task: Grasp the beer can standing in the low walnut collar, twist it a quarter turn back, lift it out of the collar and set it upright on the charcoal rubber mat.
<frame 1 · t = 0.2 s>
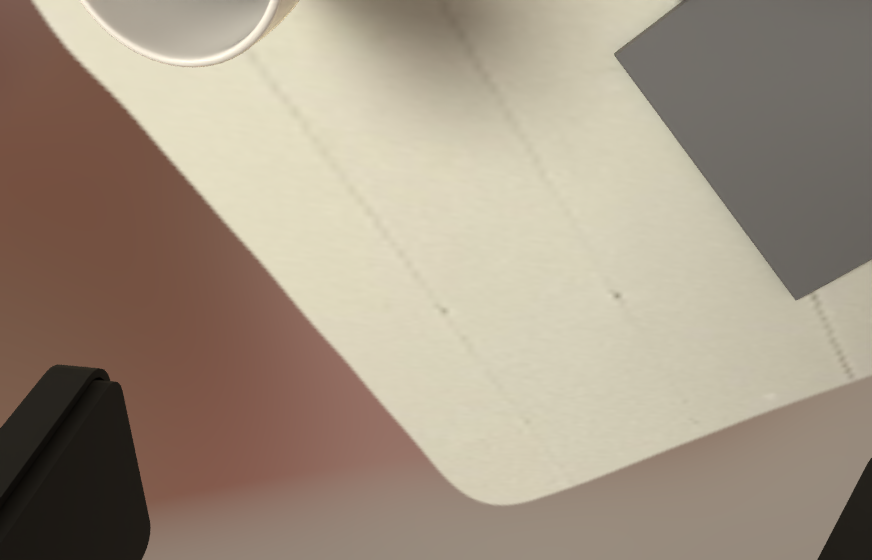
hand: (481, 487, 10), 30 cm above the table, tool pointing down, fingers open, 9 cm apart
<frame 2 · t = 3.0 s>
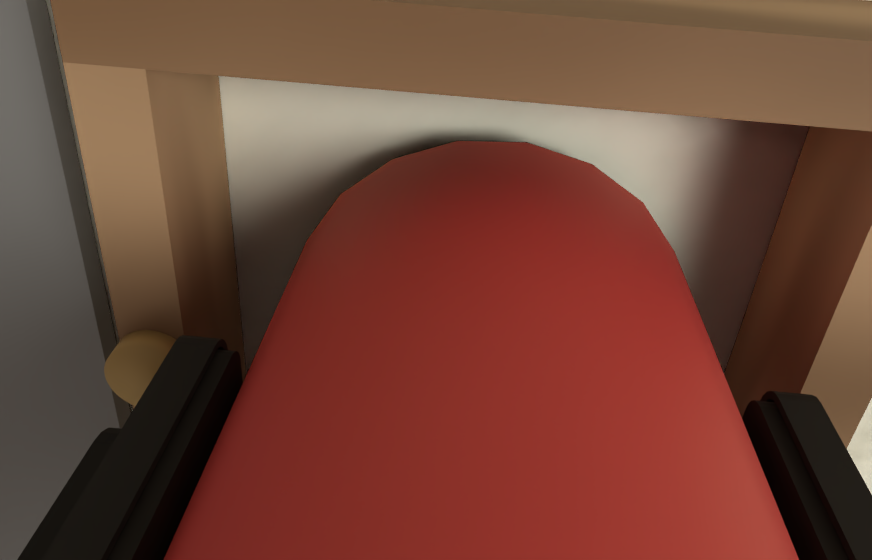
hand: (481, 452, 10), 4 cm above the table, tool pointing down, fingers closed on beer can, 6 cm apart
beer can: (485, 294, 13), resting in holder, touching gripper
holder: (486, 301, 13), on the table
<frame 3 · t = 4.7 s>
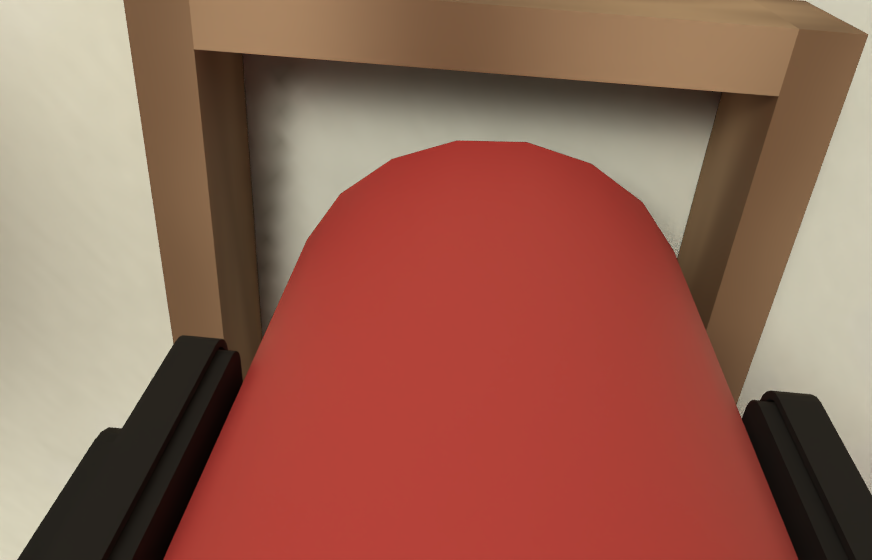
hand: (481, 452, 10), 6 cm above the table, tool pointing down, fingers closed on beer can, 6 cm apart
beer can: (485, 294, 13), point 3 cm above the table, touching gripper
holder: (463, 250, 16), on the table
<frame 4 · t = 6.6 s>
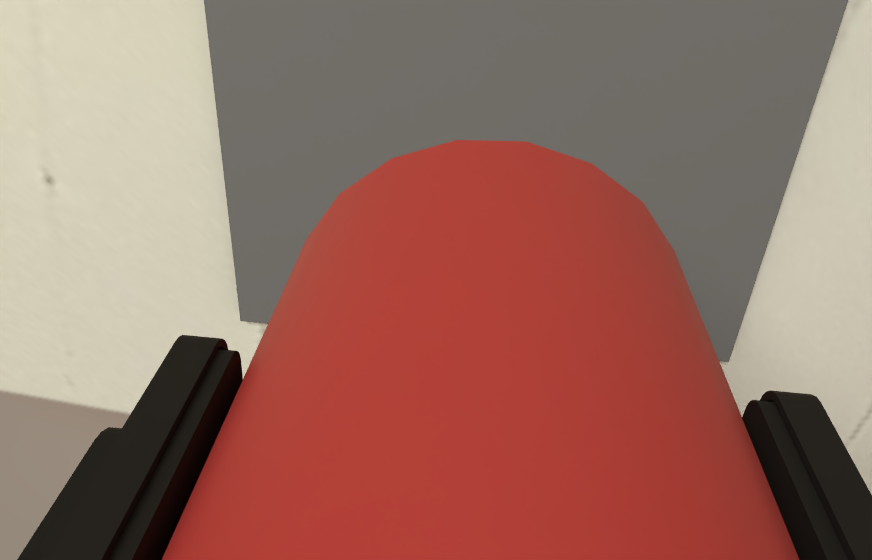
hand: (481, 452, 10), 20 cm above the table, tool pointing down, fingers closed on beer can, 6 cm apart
mat: (500, 149, 29), on the table
beer can: (485, 294, 13), point 16 cm above the table, touching gripper
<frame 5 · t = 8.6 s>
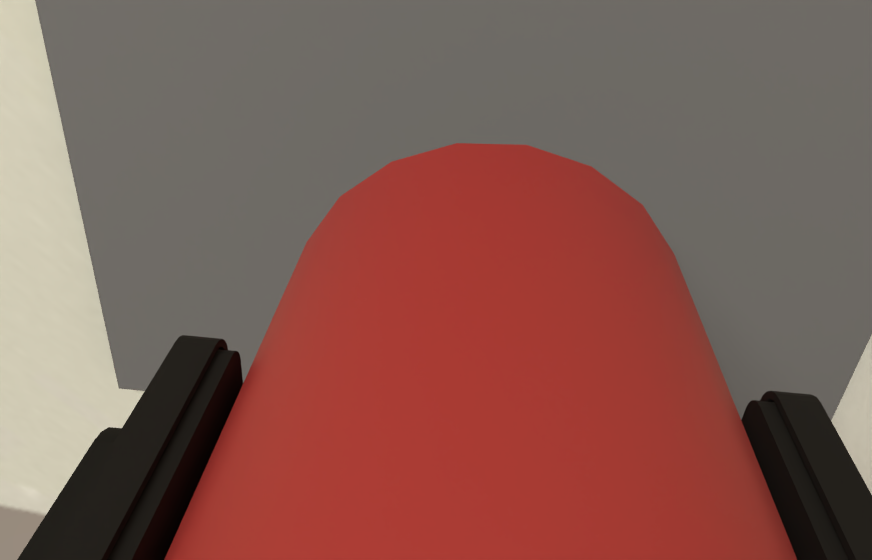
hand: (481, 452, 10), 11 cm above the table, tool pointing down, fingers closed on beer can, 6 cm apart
mat: (491, 148, 19), on the table
beer can: (485, 296, 13), point 7 cm above the table, touching gripper
when the fingers open (5 cm above the table, at t = 10.1 s): beer can drops 1 cm, resting on mat.
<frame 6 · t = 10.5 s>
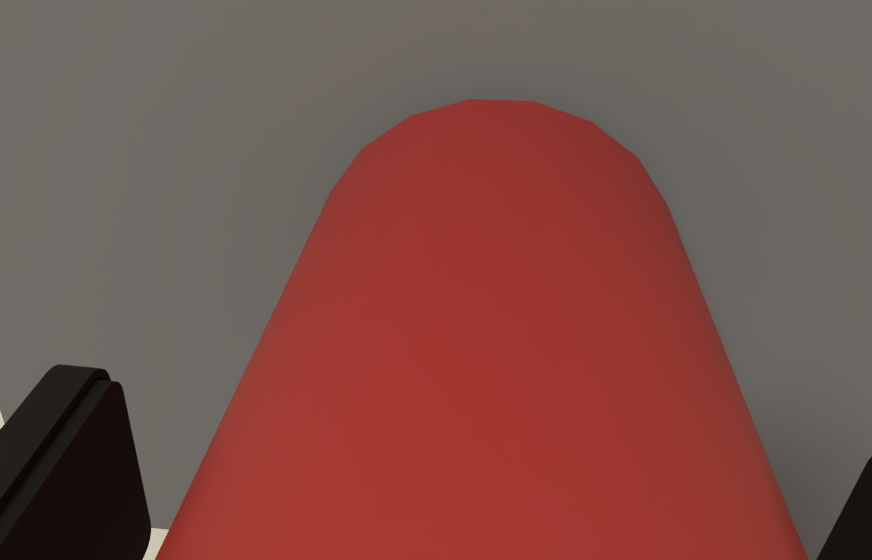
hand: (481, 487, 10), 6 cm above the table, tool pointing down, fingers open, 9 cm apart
mat: (487, 247, 15), on the table
beer can: (493, 248, 15), resting on mat
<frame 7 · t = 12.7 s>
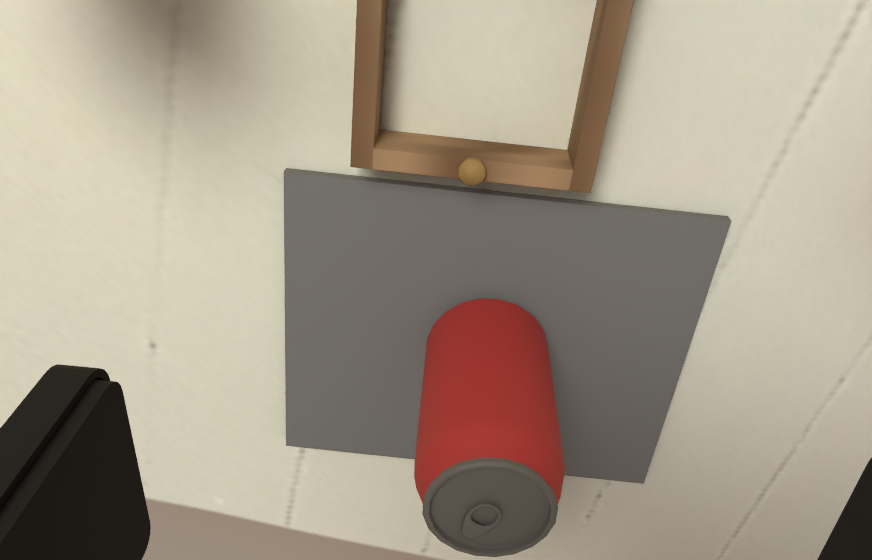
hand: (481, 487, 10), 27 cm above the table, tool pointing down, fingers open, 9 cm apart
mat: (484, 340, 41), on the table
beer can: (486, 341, 41), resting on mat
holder: (486, 44, 33), on the table
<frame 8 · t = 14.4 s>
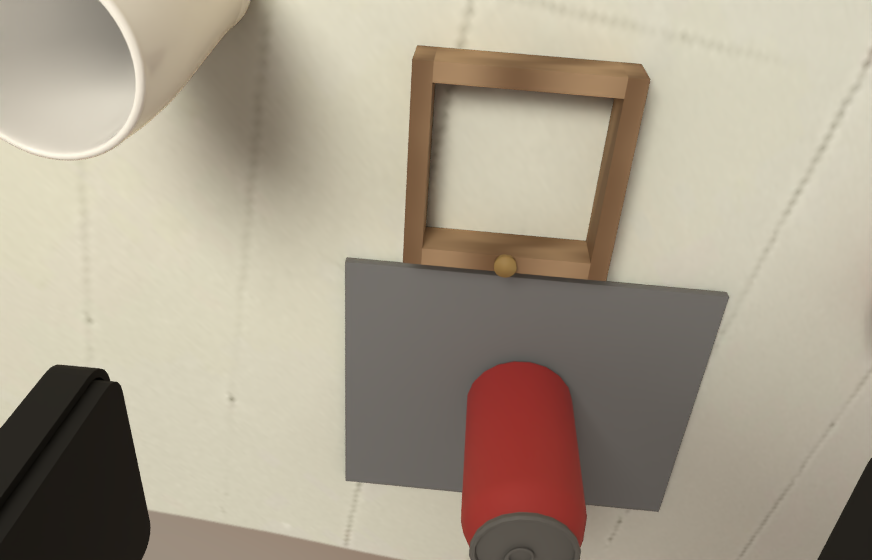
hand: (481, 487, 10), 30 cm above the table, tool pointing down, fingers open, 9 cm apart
mat: (516, 393, 48), on the table
beer can: (518, 394, 48), resting on mat
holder: (515, 159, 39), on the table
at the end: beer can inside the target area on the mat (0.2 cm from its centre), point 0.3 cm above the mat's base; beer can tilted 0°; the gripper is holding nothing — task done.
